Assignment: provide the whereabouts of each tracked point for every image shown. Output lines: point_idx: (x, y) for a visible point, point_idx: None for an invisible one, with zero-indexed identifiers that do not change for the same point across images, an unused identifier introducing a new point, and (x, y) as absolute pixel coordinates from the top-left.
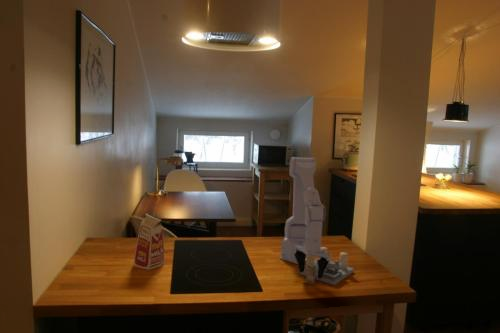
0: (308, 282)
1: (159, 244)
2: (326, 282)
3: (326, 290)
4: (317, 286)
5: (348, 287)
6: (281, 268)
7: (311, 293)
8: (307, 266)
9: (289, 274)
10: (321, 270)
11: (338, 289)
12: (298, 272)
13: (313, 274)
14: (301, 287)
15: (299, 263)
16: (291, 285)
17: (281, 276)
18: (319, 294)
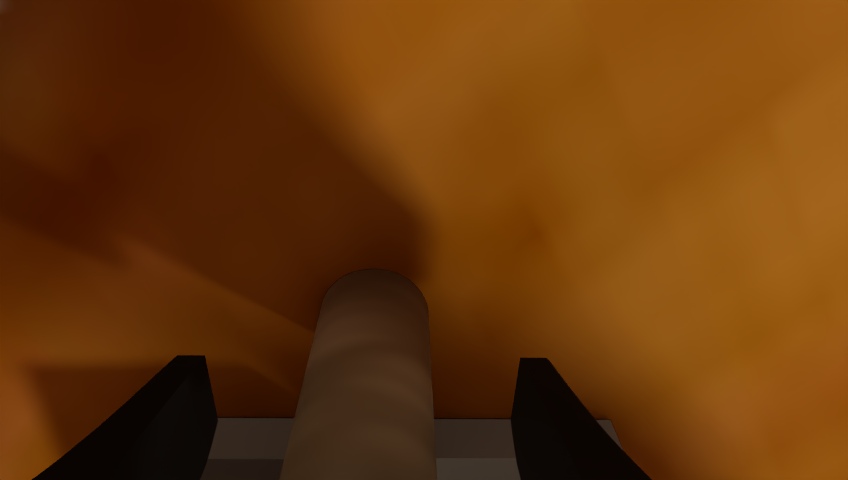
0: (369, 278)
1: None
2: (230, 420)
3: (86, 255)
4: (240, 278)
5: (4, 463)
6: (842, 407)
7: (144, 19)
8: (417, 477)
9: (696, 337)
10: (47, 474)
11: (24, 366)
12: (613, 428)
13: (301, 392)
14: (378, 103)
15: (598, 471)
16: (533, 56)
17: (778, 223)
18: (46, 78)
